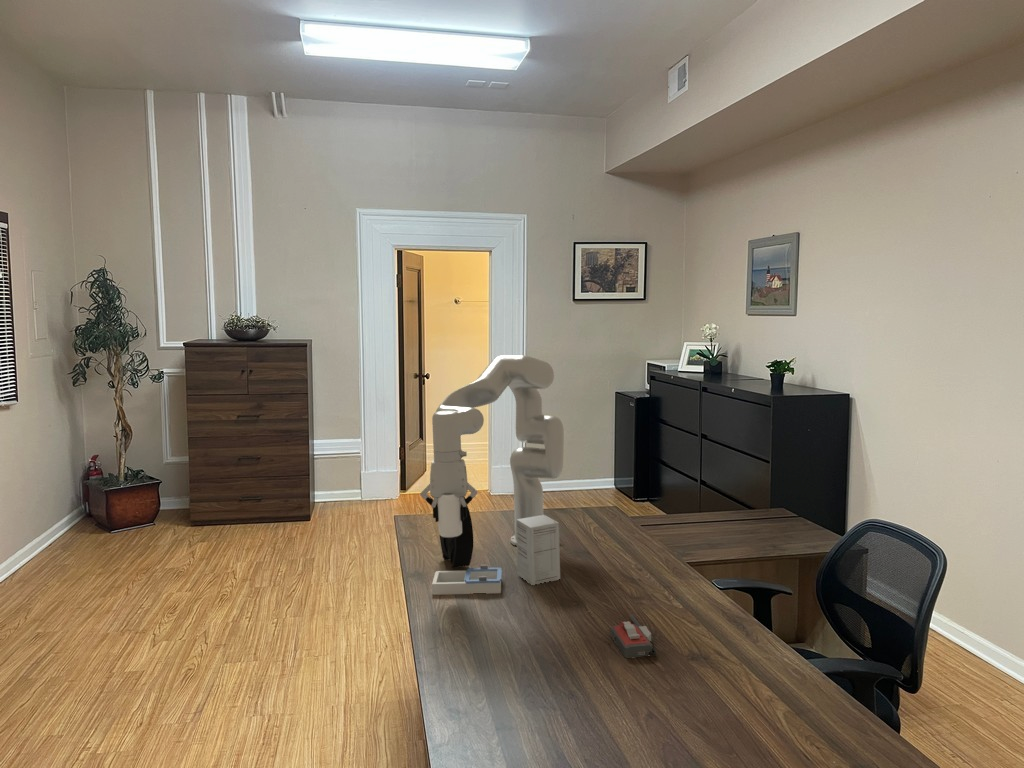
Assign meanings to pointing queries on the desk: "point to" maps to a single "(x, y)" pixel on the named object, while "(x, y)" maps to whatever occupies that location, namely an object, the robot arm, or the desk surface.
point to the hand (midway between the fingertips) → (450, 519)
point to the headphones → (459, 545)
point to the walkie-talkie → (632, 639)
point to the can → (449, 516)
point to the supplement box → (538, 549)
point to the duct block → (467, 581)
